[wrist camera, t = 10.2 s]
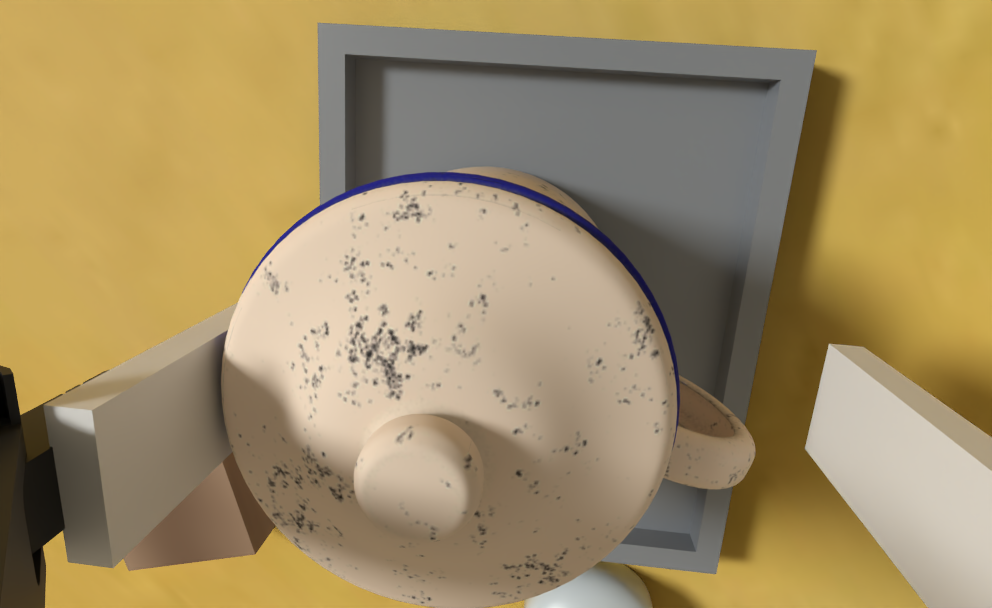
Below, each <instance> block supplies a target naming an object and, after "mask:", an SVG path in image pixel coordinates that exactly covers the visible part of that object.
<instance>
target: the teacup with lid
mask: <svg viewBox="0 0 992 608" xmlns="http://www.w3.org/2000/svg"><path fill="white" fill-rule="evenodd" d="M221 393H222V406H223V413H224V421H225V426H226V430H227V434H228V438H229V442H230V445H231V448H232V451H233V454H234V457H235V460H236V463H237V465H238V467H239V469H240V471H241V474H242V476H243V478H244V480H245V482H246V484H247V485H248V487H249V489H250V491H251V492H252V494H253V496H254V498H255V499H256V500H257V502H258V503H259V505H260V506H261V508H262V509H263V510H264V512H265V513H266V515H267V516H268V517H269V518H270V519H271V521H272V522H273V523H274V524H275V525H276V527H277V528H278V529H279V530H280V531H281V532H282V533H283V534H284V535H285V536H286V537H287V538H288V539H289V540H290V541H291V542H292V543H293V544H294V545H295V546H296V547H298V548H299V549H300V550H301V551H302V552H304V553H305V554H306V555H307V556H308V557H310V558H311V559H312V560H314V561H315V562H317V563H318V564H319V565H321V566H322V567H324V568H325V569H327V570H328V571H330V572H332V573H333V574H335V575H337V576H339V577H340V578H342V579H344V580H346V581H348V582H350V583H352V584H354V585H356V586H358V587H360V588H363V589H365V590H368V591H370V592H373V593H375V594H378V595H381V596H384V597H387V598H391V599H394V600H397V601H402V602H406V603H411V604H415V605H421V606H429V607H436V608H483V607H492V606H499V605H504V604H509V603H514V602H519V601H522V600H525V599H529V598H532V597H536V596H538V595H541V594H543V593H546V592H548V591H551V590H553V589H556V588H558V587H560V586H562V585H564V584H566V583H568V582H570V581H572V580H573V579H575V578H576V577H578V576H580V575H581V574H583V573H584V572H586V571H588V570H589V569H590V568H592V567H593V566H594V565H596V564H597V563H598V562H600V561H601V560H602V559H603V558H605V557H606V556H607V555H608V554H609V553H610V552H611V551H612V550H613V549H615V548H616V547H617V546H618V545H619V544H620V543H621V542H622V541H623V540H624V539H625V537H626V536H627V535H628V534H629V533H630V532H631V530H632V529H633V528H634V527H635V526H636V525H637V523H638V522H639V520H640V519H641V518H642V516H643V515H644V513H645V512H646V510H647V509H648V507H649V505H650V504H651V502H652V500H653V498H654V497H655V495H656V493H657V491H658V489H659V487H660V484H661V482H662V479H663V478H665V479H668V480H671V481H674V482H677V483H680V484H683V485H687V486H691V487H696V488H702V489H725V488H729V487H732V486H735V485H737V484H738V483H739V482H740V481H742V480H743V479H744V477H745V476H746V474H747V472H748V470H749V468H750V466H751V464H752V462H753V460H754V457H755V453H756V450H755V444H754V441H753V438H752V436H751V434H750V433H749V431H748V430H747V428H746V427H745V426H744V424H743V423H742V422H741V421H740V420H739V419H738V418H737V417H736V416H735V415H734V414H733V413H732V412H731V411H730V410H729V409H728V408H727V407H726V406H724V405H723V404H722V403H721V402H720V401H718V400H717V399H716V398H714V397H713V396H712V395H710V394H709V393H707V392H706V391H705V390H703V389H702V388H700V387H698V386H697V385H695V384H694V383H692V382H690V381H689V380H687V379H685V378H683V377H681V376H680V375H679V373H678V366H677V359H676V354H675V350H674V346H673V342H672V339H671V335H670V332H669V329H668V327H667V324H666V321H665V319H664V316H663V314H662V311H661V309H660V307H659V305H658V303H657V301H656V299H655V297H654V295H653V293H652V292H651V290H650V289H649V287H648V286H647V284H646V282H645V281H644V279H643V278H642V276H641V274H640V273H639V272H638V270H637V269H636V268H635V267H634V265H633V264H632V263H631V262H630V260H629V259H628V258H627V257H626V255H625V254H624V253H623V252H622V251H621V250H620V249H619V248H618V247H617V246H616V245H615V244H614V243H613V242H612V241H611V240H610V239H609V238H608V237H607V236H606V235H605V234H604V233H602V232H601V231H600V230H599V229H598V227H597V226H596V224H595V223H594V222H593V220H592V219H591V218H590V217H589V215H588V214H587V213H586V212H585V211H584V210H583V209H582V208H581V207H580V206H579V205H578V203H576V202H575V201H574V200H573V199H572V198H570V197H569V196H568V195H567V194H566V193H564V192H563V191H561V190H560V189H558V188H557V187H555V186H553V185H552V184H550V183H548V182H546V181H544V180H542V179H540V178H537V177H535V176H533V175H530V174H527V173H524V172H521V171H517V170H512V169H507V168H501V167H491V166H479V167H467V168H460V169H455V170H451V171H447V172H424V173H415V174H405V175H400V176H395V177H390V178H385V179H381V180H377V181H374V182H371V183H368V184H365V185H362V186H359V187H356V188H354V189H351V190H349V191H347V192H345V193H342V194H340V195H338V196H336V197H334V198H332V199H331V200H329V201H327V202H325V203H324V204H322V205H320V206H318V207H317V208H315V209H314V210H312V211H311V212H310V213H308V214H307V215H306V216H304V217H303V218H301V219H300V220H299V221H297V222H296V223H295V224H294V225H293V226H292V227H291V228H290V229H289V230H287V231H286V232H285V233H284V234H283V235H282V236H281V237H280V238H279V239H278V240H277V241H276V243H275V244H274V245H273V246H272V247H271V248H270V249H269V251H268V252H267V253H266V254H265V256H264V257H263V258H262V260H261V261H260V263H259V264H258V266H257V267H256V268H255V270H254V271H253V273H252V275H251V277H250V279H249V281H248V282H247V284H246V286H245V288H244V290H243V292H242V295H241V297H240V299H239V302H238V304H237V306H236V309H235V311H234V314H233V316H232V319H231V322H230V326H229V329H228V333H227V336H226V341H225V346H224V352H223V358H222V371H221ZM678 425H679V426H678Z"/></svg>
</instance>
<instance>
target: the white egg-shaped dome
mask: <svg viewBox="0 0 992 608" xmlns="http://www.w3.org/2000/svg"><path fill="white" fill-rule="evenodd" d="M524 608H653V606H652V602H651V597H650V594H649V592H648V589H647V587H646V585H645V584H644V582H643V581H642V580H641V578H640V577H639V576H638V575H637V574H636V573H635V572H634V571H633V570H632V569H630V568H629V567H628V566H626V565H624V564H622V563H613V562H604V561H600V562H598V563H597V564H596V565H594V566H593V567H592V568H590V569H589V570H588V571H586V572H584V573H583V574H581V575H580V576H578V577H576V578H575V579H573V580H572V581H570V582H568V583H566V584H564V585H562V586H560V587H558V588H556V589H553V590H551V591H548V592H546V593H543V594H541V595H538V596H536V597H532V598H529V599H525V600H524Z"/></svg>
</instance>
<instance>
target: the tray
mask: <svg viewBox="0 0 992 608" xmlns="http://www.w3.org/2000/svg"><path fill="white" fill-rule="evenodd" d="M816 52H817V50H799V49H781V48H763V47H745V46H727V45H708V44H690V43H672V42H654V41H636V40H618V39H600V38H582V37H564V36H546V35H528V34H510V33H492V32H474V31H456V30H438V29H420V28H402V27H384V26H366V25H348V24H330V23H318V84H319V160H320V205H322V204H324V203H325V202H327V201H329V200H331V199H332V198H334V197H336V196H338V195H340V194H342V193H345V192H347V191H349V190H351V189H354V188H356V187H359V186H362V185H365V184H368V183H371V182H374V181H377V180H381V179H385V178H390V177H395V176H400V175H405V174H415V173H424V172H447V171H451V170H455V169H460V168H467V167H479V166H491V167H501V168H507V169H512V170H517V171H521V172H524V173H527V174H530V175H533V176H535V177H537V178H540V179H542V180H544V181H546V182H548V183H550V184H552V185H553V186H555V187H557V188H558V189H560V190H561V191H563V192H564V193H566V194H567V195H568V196H569V197H570V198H572V199H573V200H574V201H575V202H576V203H578V205H579V206H580V207H581V208H582V209H583V210H584V211H585V212H586V213H587V214H588V215H589V217H590V218H591V219H592V220H593V222H594V223H595V224H596V226H597V227H598V229H599V230H600V231H601V232H602V233H604V234H605V235H606V236H607V237H608V238H609V239H610V240H611V241H612V242H613V243H614V244H615V245H616V246H617V247H618V248H619V249H620V250H621V251H622V252H623V253H624V254H625V255H626V257H627V258H628V259H629V260H630V262H631V263H632V264H633V265H634V267H635V268H636V269H637V270H638V272H639V273H640V274H641V276H642V278H643V279H644V281H645V282H646V284H647V286H648V287H649V289H650V290H651V292H652V293H653V295H654V297H655V299H656V301H657V303H658V305H659V307H660V309H661V311H662V314H663V316H664V319H665V321H666V324H667V327H668V329H669V332H670V335H671V339H672V342H673V346H674V350H675V354H676V359H677V366H678V373H679V375H680V376H681V377H683V378H685V379H687V380H689V381H690V382H692V383H694V384H695V385H697V386H698V387H700V388H702V389H703V390H705V391H706V392H707V393H709V394H710V395H712V396H713V397H714V398H716V399H717V400H718V401H720V402H721V403H722V404H723V405H724V406H726V407H727V408H728V409H729V410H730V411H731V412H732V413H733V414H734V415H735V416H736V417H737V418H738V419H739V420H740V421H741V422H742V423H743V424H744V426H745V421H746V416H747V411H748V405H749V400H750V395H751V390H752V385H753V379H754V374H755V369H756V364H757V359H758V353H759V348H760V343H761V338H762V333H763V327H764V322H765V317H766V312H767V307H768V301H769V296H770V291H771V286H772V281H773V275H774V270H775V265H776V260H777V255H778V249H779V244H780V239H781V234H782V228H783V223H784V218H785V213H786V208H787V202H788V197H789V192H790V187H791V182H792V176H793V171H794V166H795V161H796V156H797V150H798V145H799V140H800V135H801V130H802V124H803V119H804V114H805V109H806V104H807V98H808V93H809V88H810V83H811V78H812V72H813V67H814V62H815V57H816ZM678 426H679V425H678ZM732 489H733V486H732V487H729V488H725V489H702V488H696V487H691V486H687V485H683V484H680V483H677V482H674V481H671V480H668V479H665V478H663V479H662V482H661V484H660V487H659V489H658V491H657V493H656V495H655V497H654V498H653V500H652V502H651V504H650V505H649V507H648V509H647V510H646V512H645V513H644V515H643V516H642V518H641V519H640V520H639V522H638V523H637V525H636V526H635V527H634V528H633V529H632V530H631V532H630V533H629V534H628V535H627V536H626V537H625V539H624V540H623V541H622V542H621V543H620V544H619V545H618V546H617V547H616V548H615V549H613V550H612V551H611V552H610V553H609V554H608V555H607V556H606V557H605V558H603V559H602V560H601V561H604V562H613V563H622V564H631V565H639V566H648V567H657V568H666V569H675V570H683V571H692V572H701V573H710V574H716V572H717V567H718V562H719V556H720V551H721V546H722V541H723V536H724V530H725V525H726V520H727V515H728V510H729V504H730V499H731V494H732Z"/></svg>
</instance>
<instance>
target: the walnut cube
mask: <svg viewBox="0 0 992 608" xmlns="http://www.w3.org/2000/svg"><path fill="white" fill-rule="evenodd" d="M275 526H276V525H275V524H274V523H273V522H272V521H271V519H270V518H269V517H268V516H267V515H266V513H265V512H264V510H263V509H262V508H261V506H260V505H259V503H258V502H257V500H256V499H255V498H254V496H253V494H252V492H251V491H250V489H249V487H248V485H247V484H246V482H245V480H244V478H243V476H242V474H241V471H240V469H239V467H238V465H237V463H236V460H235V457H234V454H233V452H232V453H231V454H230V455H229V456H228V457H227V458H226V459H225V460H224V461H223V462H222V463H221V464H220V465H219V466H217V467H216V468H215V469H214V470H213V471H212V472H211V473H210V474H209V475H208V476H207V477H206V478H205V479H204V480H203V481H202V482H201V483H200V484H199V485H198V486H197V487H196V488H195V489H194V490H193V491H192V492H191V493H190V494H189V495H188V496H187V497H186V498H185V499H184V500H183V501H182V502H181V503H180V504H178V505H177V506H176V507H175V508H174V509H173V510H172V511H171V512H170V513H169V514H168V515H167V516H166V517H165V518H164V519H163V520H162V521H161V522H160V523H159V524H158V525H157V526H156V527H155V528H154V529H153V530H152V531H151V532H150V533H149V534H148V535H147V536H146V537H145V538H144V539H143V540H142V541H141V542H139V543H138V544H137V545H136V546H135V547H134V548H133V549H132V550H131V551H130V552H129V553H128V554H127V555H126V556H125V557H124V561H125V563H126V566H127V568H128V570H129V571H131V570H138V569H146V568H154V567H161V566H169V565H177V564H184V563H192V562H200V561H207V560H215V559H223V558H230V557H238V556H246V555H253V554H256V552H257V551H258V550H259V548H260V547H261V545H262V544H263V543H264V541H265V540H266V538H267V537H268V535H269V534H270V533H271V531H272V530H273V528H274V527H275Z"/></svg>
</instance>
